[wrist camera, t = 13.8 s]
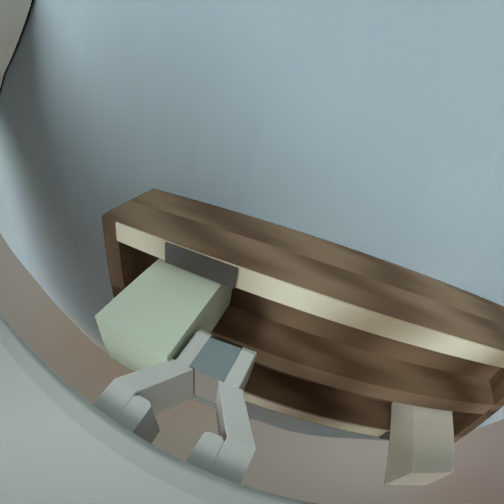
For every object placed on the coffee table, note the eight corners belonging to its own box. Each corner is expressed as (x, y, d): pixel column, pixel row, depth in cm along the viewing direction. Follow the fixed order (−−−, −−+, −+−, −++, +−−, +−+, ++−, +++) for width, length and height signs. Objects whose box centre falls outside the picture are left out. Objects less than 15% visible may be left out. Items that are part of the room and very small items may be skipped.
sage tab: (177, 282, 14) (108, 356, 9) (177, 242, 13) (94, 315, 8) (229, 303, 13) (171, 393, 9) (236, 263, 12) (166, 357, 7)
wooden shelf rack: (156, 306, 19) (122, 343, 16) (153, 188, 14) (98, 217, 11) (450, 399, 14) (453, 444, 11) (525, 316, 10) (547, 364, 6)
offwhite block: (391, 403, 13) (383, 484, 9) (412, 382, 12) (411, 472, 7) (427, 409, 13) (425, 485, 8) (449, 390, 11) (454, 472, 7)
